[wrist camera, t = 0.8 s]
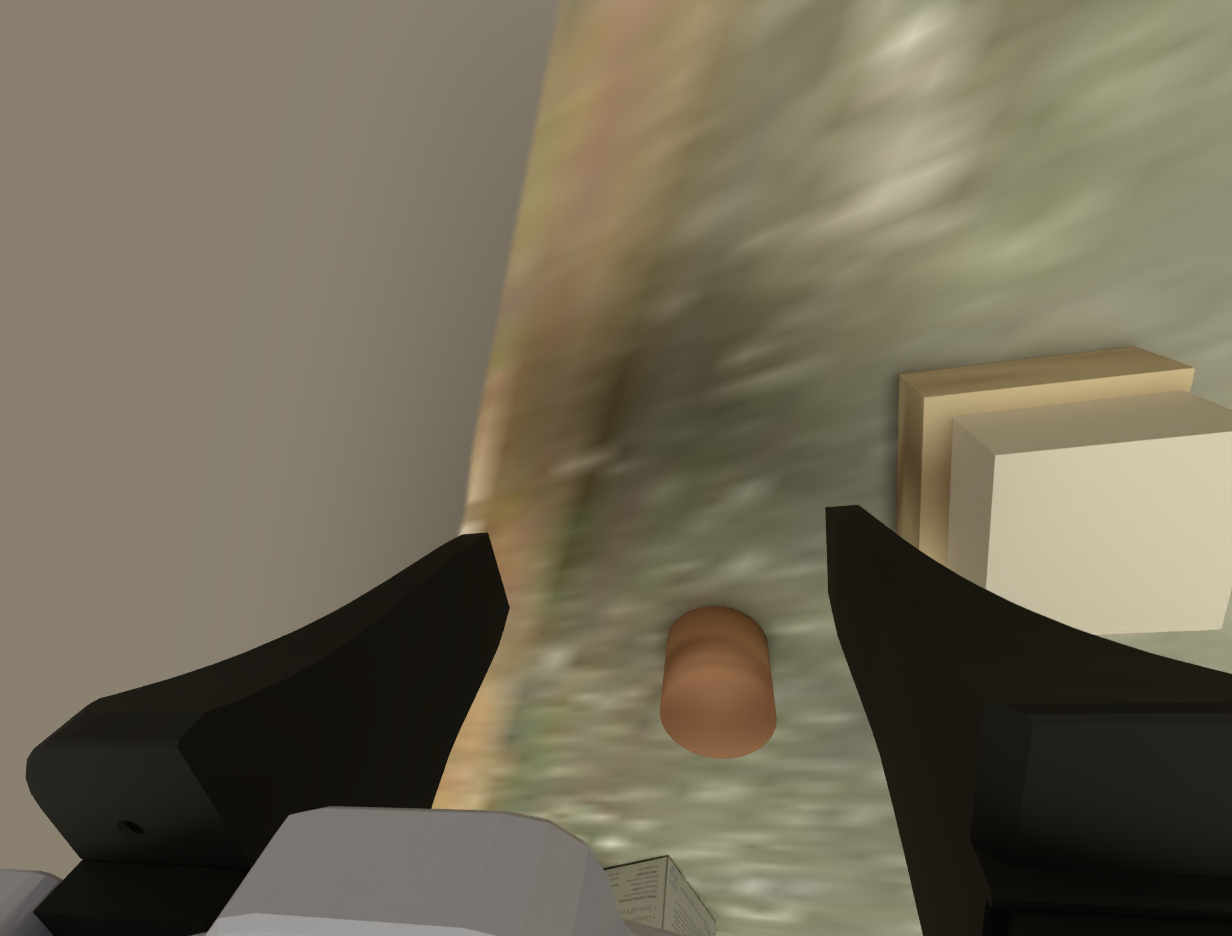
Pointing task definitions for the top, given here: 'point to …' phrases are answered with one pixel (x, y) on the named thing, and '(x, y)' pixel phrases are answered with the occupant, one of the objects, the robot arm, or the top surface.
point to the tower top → (1098, 511)
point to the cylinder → (718, 684)
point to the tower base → (994, 389)
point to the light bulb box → (659, 898)
